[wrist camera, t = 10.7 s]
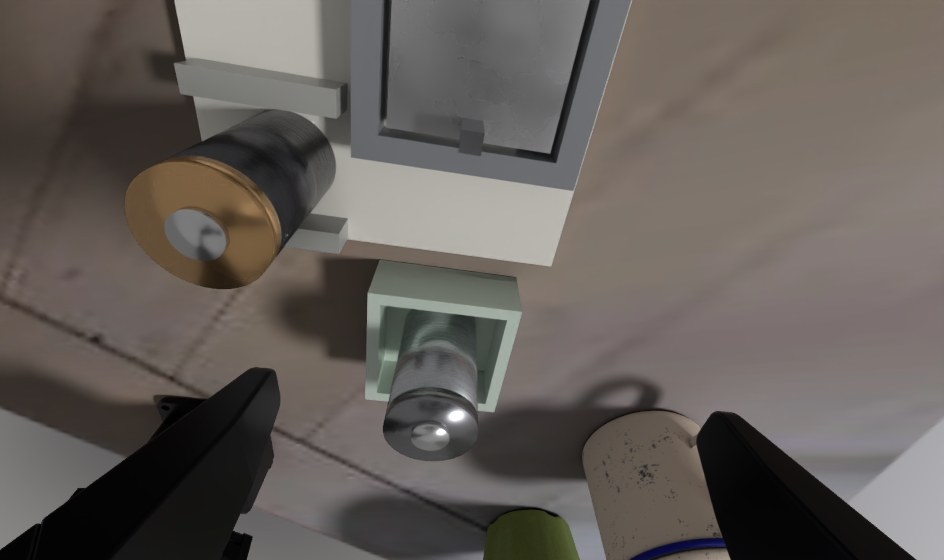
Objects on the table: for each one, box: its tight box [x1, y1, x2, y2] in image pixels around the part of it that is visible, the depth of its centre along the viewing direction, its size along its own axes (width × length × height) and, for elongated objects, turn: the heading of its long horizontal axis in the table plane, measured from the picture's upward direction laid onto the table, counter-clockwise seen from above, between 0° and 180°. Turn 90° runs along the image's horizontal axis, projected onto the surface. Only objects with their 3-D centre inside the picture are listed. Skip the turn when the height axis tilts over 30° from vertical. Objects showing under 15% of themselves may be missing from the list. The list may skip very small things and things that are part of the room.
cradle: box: [386, 0, 590, 156], centre depth 14 cm, size 6×6×3 cm
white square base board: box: [174, 0, 632, 266], centre depth 15 cm, size 16×16×3 cm
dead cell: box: [383, 309, 478, 461], centre depth 20 cm, size 4×4×7 cm
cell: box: [124, 109, 336, 289], centre depth 15 cm, size 4×4×7 cm
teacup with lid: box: [582, 411, 730, 560], centre depth 24 cm, size 12×9×12 cm
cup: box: [365, 260, 522, 412], centre depth 22 cm, size 7×7×3 cm
